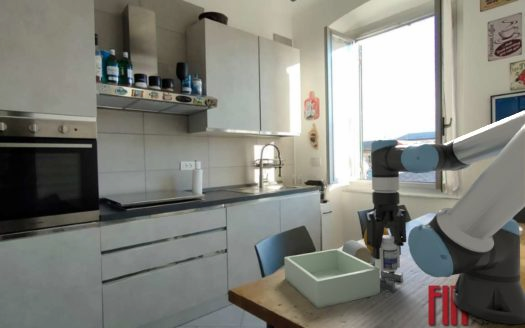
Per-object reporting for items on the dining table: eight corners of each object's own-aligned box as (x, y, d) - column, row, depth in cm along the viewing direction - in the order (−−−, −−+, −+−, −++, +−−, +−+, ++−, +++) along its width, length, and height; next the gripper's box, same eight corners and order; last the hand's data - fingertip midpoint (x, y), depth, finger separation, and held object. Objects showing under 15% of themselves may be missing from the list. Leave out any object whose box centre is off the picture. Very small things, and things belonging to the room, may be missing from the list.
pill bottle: (376, 265, 90) (375, 234, 90) (394, 265, 89) (393, 234, 89) (380, 271, 84) (379, 238, 84) (399, 272, 83) (399, 239, 83)
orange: (392, 258, 107) (391, 227, 107) (365, 257, 110) (364, 226, 109) (388, 250, 116) (387, 221, 116) (363, 249, 119) (362, 221, 119)
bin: (380, 293, 80) (379, 268, 80) (318, 308, 73) (317, 281, 73) (337, 268, 99) (337, 248, 99) (285, 278, 92) (284, 257, 92)
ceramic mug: (355, 269, 98) (355, 246, 98) (341, 261, 106) (341, 240, 106) (380, 265, 101) (380, 243, 101) (365, 258, 109) (365, 237, 109)
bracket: (383, 274, 93) (382, 264, 93) (403, 279, 89) (402, 268, 89) (371, 286, 85) (371, 275, 84) (393, 292, 81) (392, 280, 81)
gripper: (399, 188, 93) (401, 259, 93) (352, 191, 87) (354, 268, 87) (419, 190, 86) (421, 267, 86) (368, 194, 80) (370, 277, 80)
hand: (387, 267), depth 87 cm, fingers closed on pill bottle, 5 cm apart
